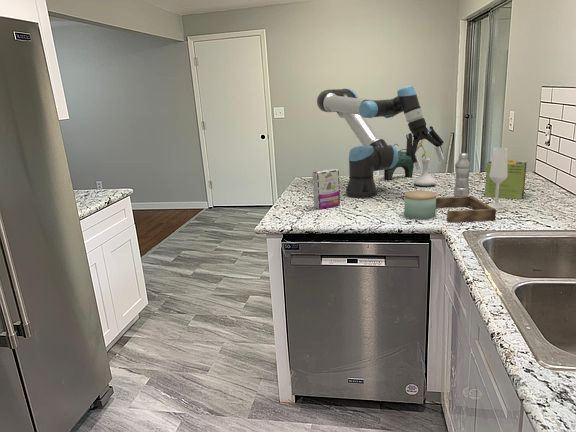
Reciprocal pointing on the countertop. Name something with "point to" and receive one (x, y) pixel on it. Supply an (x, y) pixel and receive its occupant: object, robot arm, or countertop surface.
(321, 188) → the candy bar box
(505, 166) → the champagne flute
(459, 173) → the plastic bottle
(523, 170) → the protein box
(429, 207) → the green canister
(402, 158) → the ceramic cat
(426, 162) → the flower in vase
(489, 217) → the walnut bay
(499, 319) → the countertop surface
